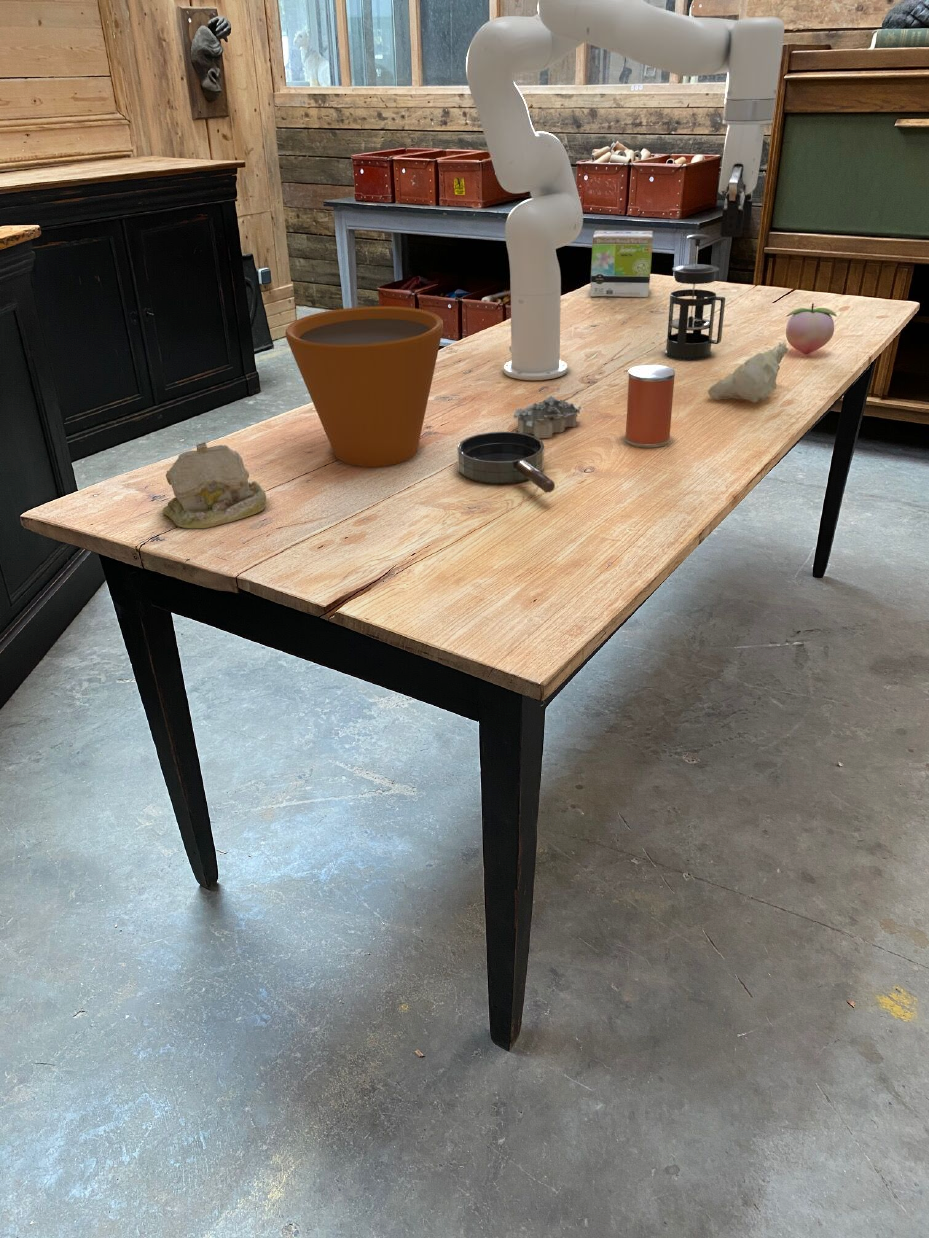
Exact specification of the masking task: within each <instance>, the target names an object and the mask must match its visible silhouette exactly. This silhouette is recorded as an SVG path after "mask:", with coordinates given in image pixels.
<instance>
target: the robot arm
mask: <svg viewBox="0 0 929 1238" xmlns="http://www.w3.org/2000/svg"><path fill="white" fill-rule="evenodd" d="M537 12H538V13H536V14H535V15H533V16H520V15H504V16H499V17H495V18H493V19H490V20H488V21H487V22H485V23H484V24H483V25H482V26H481V27H480V28H479V29H478V30H477V32H476V33H475V34H474V36H473V37H472V39H471V42H470V44H469V47H468V51H467V55H466V63H465V73H466V74H465V75H466V81H467V84H468V88H469V93H470V95H471V98H472V101H473V104H474V106H475V108H476V109H475V110H476V112H477V114H478V117H479V121H480V123H481V128H482V132H483V135H484V139H485V142H486V146H487V150H488V152H489V156H490V159H491V163H492V167H493V170H494V174H495V177H496V179H497V182H498V183H499V186H501V188H502V189H503V190H504V191H505V192H507V193H511V194H524V193H527V192H529V193H530V197H531V198H528V199H525V200H523V201H521V202H520V203H518V204H516V205H515V206H514V207H513V208H512V209H511V211H510V213H509V214H508V215H507V218H506V220H505V225H504V237H505V244H506V249H507V254H508V262H509V263H508V264H509V275H510V276H509V277H510V279H509V281H510V282H509V283H510V287H509V289H510V346H509V347H508V348H509V349H508V350H509V352H510V356H511V357H510V361H508V362H506V363H504V365H503V374H504V375H506V376H507V377H510V378H512V379H516V380H521V381H546V380H547V381H548V380H552V379H556V378H560V377H562V376H564V375H566V374H567V372H568V364H567V363H566V362H565V361H564V360H561V301H562V300H561V299H562V298H561V296H562V277H561V276H562V275H561V267H560V263H559V260H558V256H557V250H558V249H560V248H562V247H565V246H568V245H569V244H571V243H573V242H575V240H576V239H577V238H578V237H579V235H580V233H581V232H582V228H583V224H584V212H583V207H582V202H581V199H580V194H579V191H578V187H577V184H576V179H575V175H574V172H573V169H572V164H571V161H570V158H569V155H568V153H567V150H566V148H565V147H564V145H563V143H562V142H561V140H560V139H558V137H557V136H555V135H554V134H552V133H549V132H547V131H535V129H534V127H533V124H532V120H531V118H530V113H529V110H528V105H527V103H526V100H525V99H524V97H523V95H522V93H521V91H520V90H519V88H518V86H517V85H516V83H515V81H514V76H515V75H523V74H525V75H526V74H537V73H540V72H543V71H546V70H548V69H549V68H551V67H552V66H554V65H556V64H558V62H559V61H561V60H563V59H564V58H565V57H567V56H569V54H571V53H572V52H574V51H575V50H576V49H578V48H580V46H582V45H583V44H587V45H590V46H593V47H596V48H600V49H603V50H606V51H609V52H612V53H615V54H618V55H620V56H621V57H622V58H627V59H630V60H632V61H634V62H637V63H639V64H641V65H644V66H647V67H649V68H650V67H651V68H653V69H654V68H655V69H657V70H661V71H663V72H667V73H670V74H673V75H677V76H681V77H687V78H691V77H700V76H714V75H719V74H726V73H727V75H726V84H725V85H726V86H725V95H724V105H723V113H722V114H723V115H722V124H723V125H727V130H726V134H725V142H724V147H723V154H722V161H721V168H720V175H719V176H720V177H719V184H718V193H719V195H721V196H722V195H724V194H725V198H724V202H723V209H722V213H721V224H720V233H719V235H720V237H722V238H740V237H741V236H742V233H743V228H749V227H750V225H751V218H752V209H753V195H754V194H753V192H754V190H755V189H756V187H757V183H758V179H759V174H760V173H759V172H760V167H761V160H762V152H763V144H764V136H765V135H764V134H765V128H766V127H765V126H766V125H770V124H773V123H774V118H775V110H776V100H777V92H778V84H779V77H780V69H781V60H782V52H783V47H784V46H783V45H784V38H785V23H784V22H783V20H782V19H781V18H779V17H775V16H759V17H745V18H741V19H739V20H736V19H729V18H721V17H720V18H719V17H718V18H717V17H695V16H690V15H686V14H682V13H679V12H674V11H671V10H667V9H665V8H662V7H658V6H655V5H652V4H650V3H648V2H646V1H645V0H537Z"/></svg>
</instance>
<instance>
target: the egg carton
mask: <svg viewBox="0 0 929 1238" xmlns="http://www.w3.org/2000/svg"><path fill="white" fill-rule="evenodd" d="M581 410H582V407H580V406H578V408H577V407H575V404H574V403H568V402H567V401H564V400H562V399H560V400H558V399H557V398H556V397H554V396H552V395H550V396H548V397H547V398H546V399H544V400H543V401H539V402H538V403H537V402H534V403H533V404H532V405H530V406H527V407H525V408H520V409H519V408H518V409H516V410H515V411H514V414H513V415H512V418H514V419H517V425H516V426H517V427H516V429H517V430H518V433H524V434H528V435H533V436H534V437H537V438H538V439H540V440H541V439H549V438H550V439H551V438H552V437H553V434H554V433H563V432H564V431H565V428H575V427H577V425H578V422H577V418H578V415H580V413H581Z"/></svg>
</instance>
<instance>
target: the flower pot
mask: <svg viewBox="0 0 929 1238" xmlns="http://www.w3.org/2000/svg"><path fill="white" fill-rule="evenodd" d="M443 331H444V321H443V319H442V318H441V317H440V316H439V315H438V314H436V313H434V312H432V311H429V310H425V309H420V308H416V307H415V308H414V307H407V306H393V305H391V306H390V305H383V306H382V305H380V306H377V305H376V306H357V307H347V308H338V309H333V310H327V311H321V312H317V313H313V314H310V315H307V316H304V317H301V318H299V319H297V320H295V321H292V322H291V323H290V324H289V325H288V326H287V328H286V329H285V333H284V334H285V338H286V341H287V343H288V346H289V348H290V351H291V354H292V355H293V358H294V360H295V363H296V365H297V369H298V370H299V372H300V375H301V377H302V379H303V382H304V384H305V387H306V389H307V392H308V394H309V396H310V398H311V401H312V405H313V406H314V408H315V411H316V413H317V416H318V419H319V421H320V423H321V425H322V428H323V430H324V433H325V435H326V438H327V440H328V442H329V445H330V447H331V449H332V452H333V454H334V456H335V458H337V459H338V460H339V461H341V462H343V463H345V464H348V465H352V466H357V467H366V468H367V467H369V468H375V467H376V468H377V467H378V468H379V467H389V466H393V465H397V464H400V463H403V462H406V461H408V460H410V459H412V458H413V457H414V456H415V455H417V452H418V449H419V445H420V439H421V435H422V431H423V430H422V429H423V426H424V422H425V421H424V420H425V416H426V410H427V406H428V403H429V396H430V392H431V388H432V383H433V379H434V373H435V368H436V365H437V364H436V363H437V359H438V355H439V349H440V345H441V341H442V337H443Z"/></svg>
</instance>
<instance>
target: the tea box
mask: <svg viewBox="0 0 929 1238" xmlns="http://www.w3.org/2000/svg"><path fill="white" fill-rule="evenodd" d="M653 233H654V231H653V230H594V233H593V236H592V242H591V243H592V245H591V265H590V281H589V283H590V286H589V287H590V288H589V295H590V297H623V298H624V297H627V298H628V297H629V298H646V299H647V298H648V297H649V293H650V283H651V282H650V281H651V270H652V257H653V255H652V254H653V242H654V240H653V239H654V236H653V235H654V234H653Z"/></svg>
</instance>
